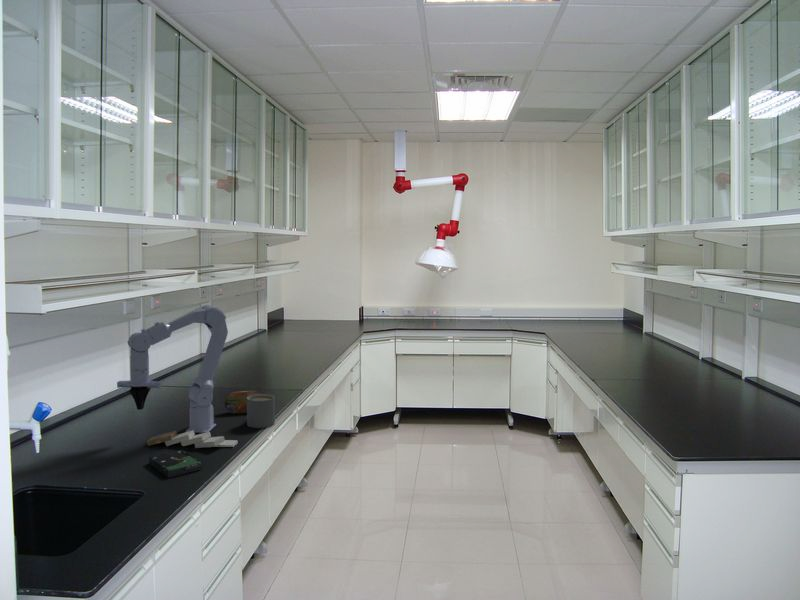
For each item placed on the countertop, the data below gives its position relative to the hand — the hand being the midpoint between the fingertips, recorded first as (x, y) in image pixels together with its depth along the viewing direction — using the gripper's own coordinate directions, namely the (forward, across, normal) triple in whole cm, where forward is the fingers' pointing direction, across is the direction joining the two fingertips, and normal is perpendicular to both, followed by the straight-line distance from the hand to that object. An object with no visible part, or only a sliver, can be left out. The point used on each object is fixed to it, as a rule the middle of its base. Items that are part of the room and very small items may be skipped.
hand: (140, 408), depth 205 cm
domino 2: (+10, +17, -4) cm, 20 cm away
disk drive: (+11, +21, -24) cm, 34 cm away
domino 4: (+10, +25, -4) cm, 27 cm away
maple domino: (+10, +5, -4) cm, 12 cm away
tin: (+11, +25, +36) cm, 45 cm away
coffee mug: (+11, +35, +22) cm, 43 cm away
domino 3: (+10, +22, -5) cm, 24 cm away
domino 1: (+10, +11, -4) cm, 15 cm away
